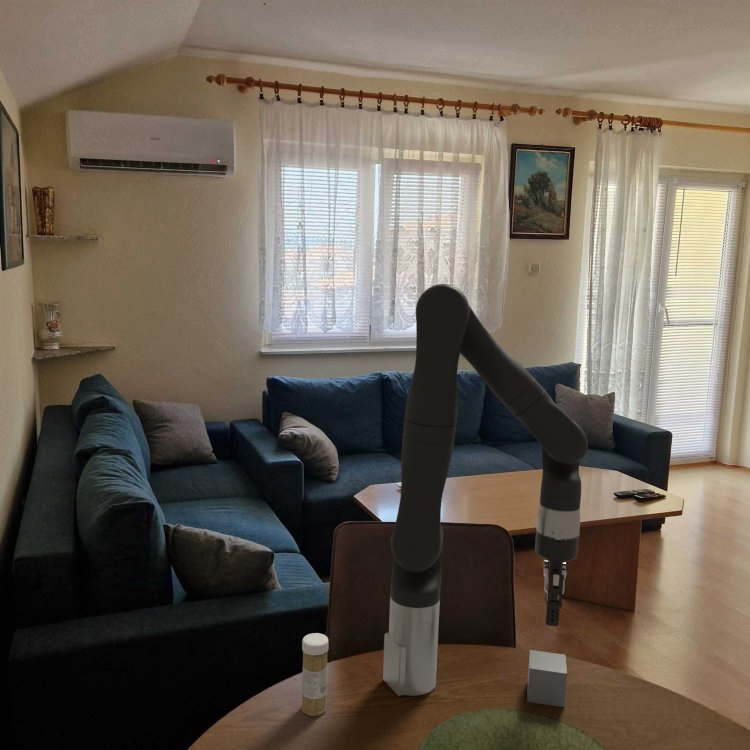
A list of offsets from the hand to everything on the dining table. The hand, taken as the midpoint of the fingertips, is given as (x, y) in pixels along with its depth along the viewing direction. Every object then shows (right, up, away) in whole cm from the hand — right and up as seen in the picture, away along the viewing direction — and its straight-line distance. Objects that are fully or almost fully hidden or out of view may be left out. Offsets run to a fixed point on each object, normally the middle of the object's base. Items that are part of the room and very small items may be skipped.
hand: (551, 613), depth 132 cm
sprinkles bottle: (-43, -16, -4) cm, 46 cm away
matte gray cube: (-1, -16, +2) cm, 16 cm away
